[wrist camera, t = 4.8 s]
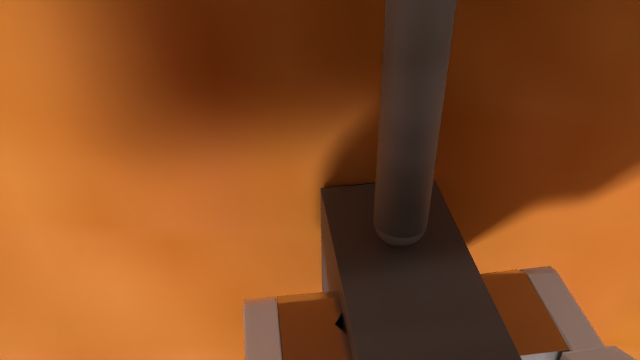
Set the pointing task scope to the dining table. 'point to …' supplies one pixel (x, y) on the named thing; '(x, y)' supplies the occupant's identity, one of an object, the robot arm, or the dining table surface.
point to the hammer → (408, 218)
